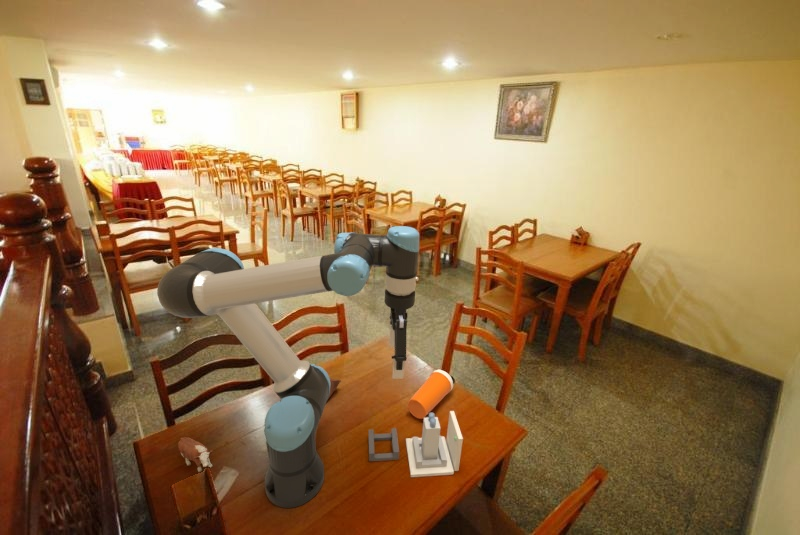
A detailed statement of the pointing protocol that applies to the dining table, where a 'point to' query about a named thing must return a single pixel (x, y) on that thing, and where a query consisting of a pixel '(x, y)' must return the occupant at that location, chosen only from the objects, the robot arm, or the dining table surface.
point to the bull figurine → (194, 452)
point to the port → (443, 459)
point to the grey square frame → (388, 436)
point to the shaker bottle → (430, 393)
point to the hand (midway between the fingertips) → (395, 360)
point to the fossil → (333, 386)
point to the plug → (430, 437)
